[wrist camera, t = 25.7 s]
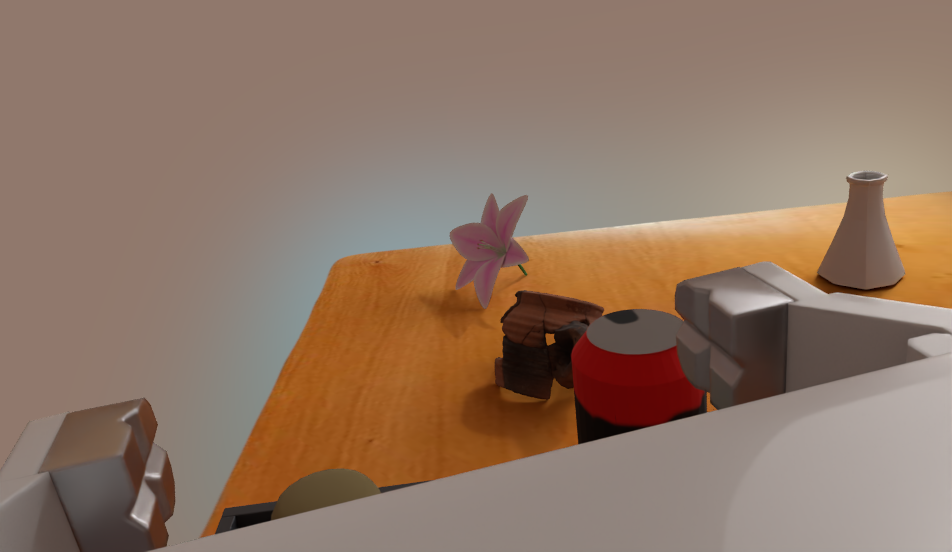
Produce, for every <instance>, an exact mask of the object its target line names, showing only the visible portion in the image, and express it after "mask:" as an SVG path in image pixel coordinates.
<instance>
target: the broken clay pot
mask: <svg viewBox="0 0 952 552" xmlns="http://www.w3.org/2000/svg"><path fill="white" fill-rule="evenodd" d="M515 296H516V297H517V302H516V304H515V305H513V306H511V307H510V309H509V310H508V311H507V312H506V313H505V314H504V316H503V317H502V318H501V323H503V326H502V331H503V332H504V334H505V336H504V337H503V358H500V357H498V358H496V359H495V376H496V380H495V383H496V384H497V385H498V386H500V387H503V388H506V389H508V390H512V391H513V392H514V393H519V394H522V395H526V396H529V397H535V398H539V399H546V400H548V399H550V394H551V387H552V383H553V379H554V378H555V379H556V381H557V382H558V383H559V384H560V385H561V386H563V387H565V388H567V389H570V388H574V383H573V371H572V359H571V354H572V350H573V348H574V346H575V345H576V343H577V342H578V341H579V339H580V338H581V337H582V336H583V334H584V333H585V332H586V331H587V328H588V326H589V325H590V324H591V323H592V322H593V321H594V320H596V319H598V318H599V317H601V316H602V313H603V311H604V308H603V307H601V306H598V305H596V304H594V303H590V302H586V301H581V300H578V299H574V298H569V297H564V296H558V295H553V294H547V293H540V292H533V291H526V290H524V291H518V292H517V293H516V294H515ZM546 333H549V334H554V339H555V343H553V344H551V345H549V346H548V345H547V343H546V337H545V334H546Z"/></svg>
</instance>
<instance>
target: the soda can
mask: <svg viewBox="0 0 952 552" xmlns="http://www.w3.org/2000/svg"><path fill="white" fill-rule="evenodd" d="M682 324H683V321H682V320H681V319H680V318H678V317H676V316H674V315H672V314H669V313H666V312H662V311H656V310H647V309H632V310H623V311H617V312H613V313H609V314H606V315H604V316H601V317H599V318H598V319H596V320H594V321H593V322H592V323H591V324H590V325H589V326H588V328H587V331H586V332H585V333H584V334H583V336H582V337H581V338H580V339H579V341H578V342H577V343H576V345H575V346H574V348H573V350H572V354H571V359H572V371H573V383H574V395H575V408H576V420H577V432H578V444H583V443H587V442H591V441H595V440H599V439H603V438H607V437H611V436H615V435H619V434H623V433H627V432H631V431H635V430H639V429H643V428H647V427H652V426H656V425H660V424H664V423H668V422H672V421H676V420H680V419H684V418H688V417H692V416H696V415H700V414H704V413H707V392H706V391H703V390H699V389H696V388H695V387H694V386H693V385H692V384H691V383H690V382H689V381H688V379H687V378H686V376H685V374H684V373H683V371H682V368H681V365H680V362H679V358H678V355H677V344H676V334H677V332H678V330H679V329H680V327H681V325H682Z"/></svg>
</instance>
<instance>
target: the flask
mask: <svg viewBox="0 0 952 552" xmlns="http://www.w3.org/2000/svg"><path fill="white" fill-rule="evenodd" d="M887 178H888V176H887V175H886V174H883V173H881V172H874V171H860V172H854V173H851V174H849V175H848V176H847V178H846V179H847V182H848V183H849V184H850V189H849V199H848V203H847V206H846V210H845V214H844V217H843V219H842V221H841V223H840V226H839V228H838V230H837V232H836V235H835V237H834V239H833V241H832V243H831V245H830V247H829V249H828V251H827V253H826V255H825V257H824V259H823V261H822V263H821V265H820V267H819V270H818V272H817V273H818V274H819V275H821V276H822V277H824V278H826V279H827V280H829V281H830V282H832V283H833V284H838V285H844V286H849V287H854V288H860V289H865V290H866V289H871V288H877V287H883V286H888V285H894V284H895V283H896V282H897V281H898V280H899V279H900V278H902V277H903V276H904V275H905V271H904V268H903V265H902V262H901V260H900V257H899V254H898V252H897V249H896V246H895V244H894V241H893V238H892V235H891V232H890V229H889V226H888V223H887V219H886V216H885V211H884V204H883V184H884V182H885V181H886V180H887Z"/></svg>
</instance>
